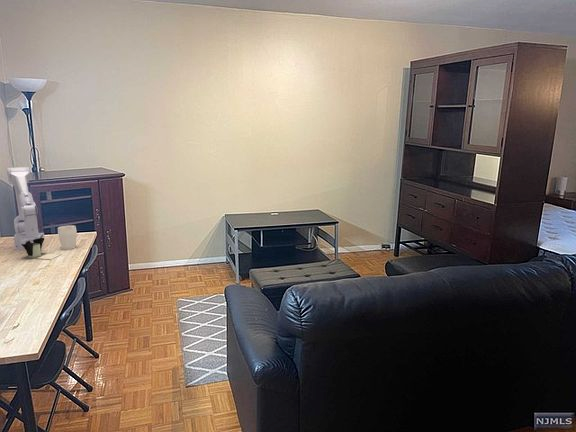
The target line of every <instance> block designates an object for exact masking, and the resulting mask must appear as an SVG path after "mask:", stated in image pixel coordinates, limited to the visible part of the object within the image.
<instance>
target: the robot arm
mask: <svg viewBox="0 0 576 432" xmlns="http://www.w3.org/2000/svg"><path fill="white" fill-rule="evenodd" d="M6 175H7V182H8V183H9V184H10V185H13V188H14V192H15V197H16V203H17V204H16V205H17V211H18V216H16V217H15V218H14V220H13V226H14V231H15V234H14V236H13V243H14V250H16V251H17V250H18V251H25V252H26V254H27V255H28V256H33V245H34V243H39V244H40V250H41V251H42V247H43V243H44V241H45V233H44V232H39V226H38V217H37V216H38V213H39V212H38V207H37V205H36V202H35V201H34V198H33V195H32V193H31V192H30V191H29V187H28V183H29V182H30V179H31V170H30V167H28V166H20V167H7V168H6Z"/></svg>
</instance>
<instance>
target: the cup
mask: <svg viewBox="0 0 576 432" xmlns="http://www.w3.org/2000/svg"><path fill="white" fill-rule="evenodd" d="M77 233H78V232H77V227H76V225H74V224H73V225H72V224H69V225H61V226H59V227H57V235H58V239H59V242H60V245H61V249H62V250H72V249H76V246H77Z"/></svg>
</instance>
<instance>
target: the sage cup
mask: <svg viewBox="0 0 576 432" xmlns="http://www.w3.org/2000/svg"><path fill="white" fill-rule="evenodd" d="M41 253H42V249H41V250H40V244H39V243H34V245H33V256H29V257H31V258H34V257H39V256H41Z"/></svg>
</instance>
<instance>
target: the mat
mask: <svg viewBox="0 0 576 432" xmlns="http://www.w3.org/2000/svg"><path fill="white" fill-rule="evenodd" d="M61 256H63V254H62V253H61V254H60V253H43V252H41V256H39V257H34V258H31V257H29V256H28V254H27V255H25V256H23V257H22V259H29V260H45V261H52V260H53V259H55V258H59V257H61Z"/></svg>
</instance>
